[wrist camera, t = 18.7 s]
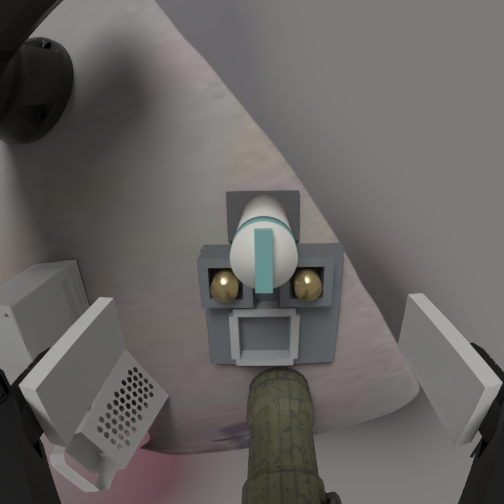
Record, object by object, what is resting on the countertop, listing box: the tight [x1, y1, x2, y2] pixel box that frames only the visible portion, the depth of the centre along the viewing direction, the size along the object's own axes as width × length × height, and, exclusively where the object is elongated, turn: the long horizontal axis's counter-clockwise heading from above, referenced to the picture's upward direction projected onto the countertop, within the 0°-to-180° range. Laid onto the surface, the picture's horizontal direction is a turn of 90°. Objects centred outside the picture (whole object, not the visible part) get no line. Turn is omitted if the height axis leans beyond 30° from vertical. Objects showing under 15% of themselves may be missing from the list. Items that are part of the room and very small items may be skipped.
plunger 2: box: [292, 267, 322, 301], centre depth 34 cm, size 3×3×4 cm
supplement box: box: [0, 259, 90, 374], centre depth 34 cm, size 9×9×15 cm
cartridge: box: [230, 195, 298, 293], centre depth 29 cm, size 5×5×15 cm
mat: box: [226, 191, 299, 241], centre depth 37 cm, size 6×8×1 cm
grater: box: [50, 348, 169, 492], centre depth 36 cm, size 10×10×20 cm
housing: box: [197, 243, 344, 366], centre depth 38 cm, size 16×16×5 cm
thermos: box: [242, 367, 342, 504], centre depth 28 cm, size 9×12×35 cm
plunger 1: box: [210, 268, 240, 302], centre depth 35 cm, size 3×3×4 cm
